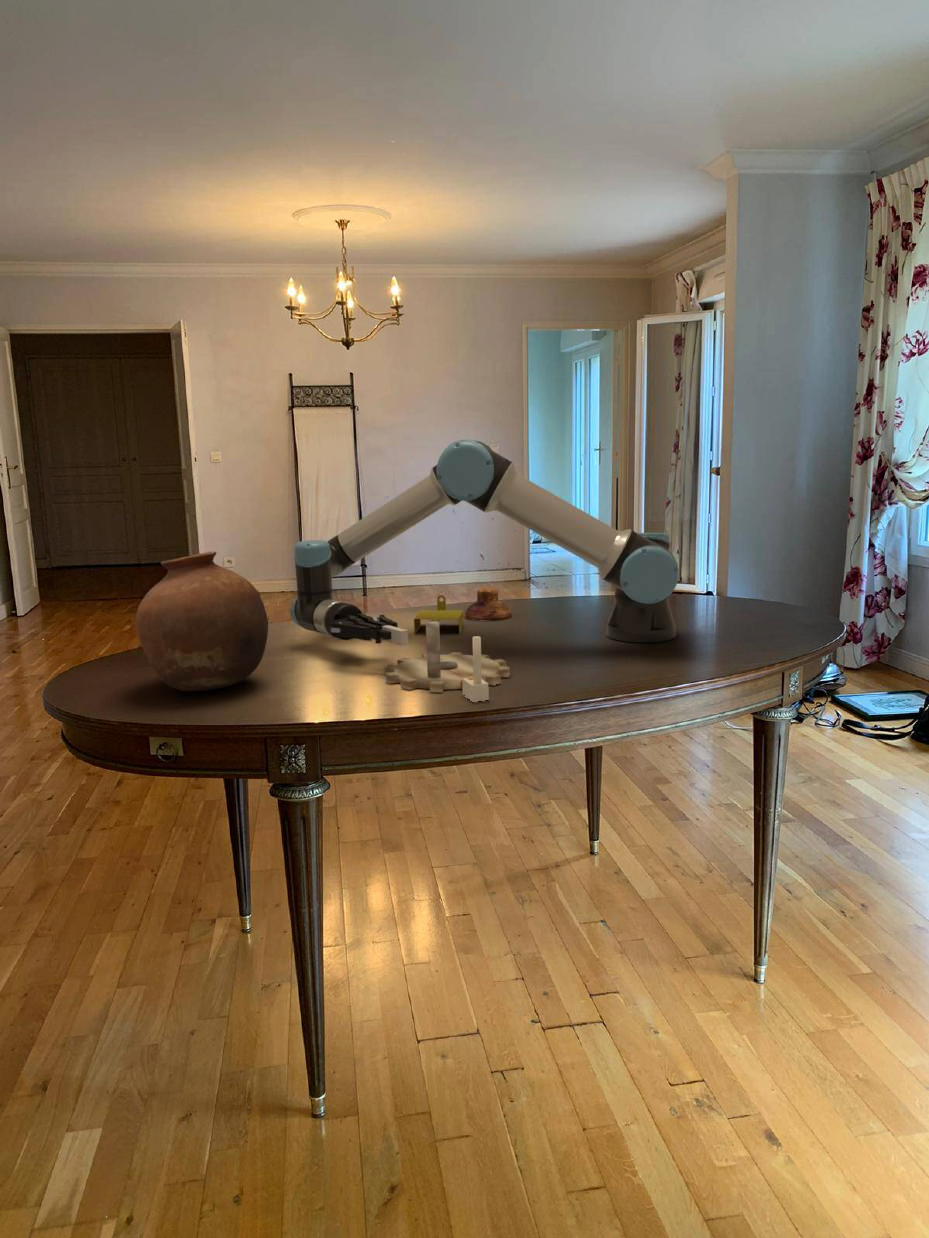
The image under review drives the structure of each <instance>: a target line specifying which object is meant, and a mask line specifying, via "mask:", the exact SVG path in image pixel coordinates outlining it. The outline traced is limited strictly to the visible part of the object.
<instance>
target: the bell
mask: <svg viewBox="0 0 929 1238" xmlns="http://www.w3.org/2000/svg"><path fill="white" fill-rule="evenodd" d="M476 595H477V596H476V598H477V599H476V601H475V602H474V603H472V604H471V605H469V606H468V607H467V608H466V610H465V612H464V615H465V618H466V620H469V619H475V620H499V621H503V620H502V619H505V620H508V619H510V618H511V616H512V612H511V611H512V610H511V609H510V607H509V606H508V605H506V604H505V603H504V602H501V601H500V600H499V592H498V590H497V589H496V588H495V589H485V588H480V589H478V590H477V594H476ZM475 620H474V621H475Z"/></svg>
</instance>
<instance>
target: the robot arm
mask: <svg viewBox="0 0 929 1238" xmlns="http://www.w3.org/2000/svg"><path fill="white" fill-rule="evenodd" d="M461 502H466V503H467V504H469V505H471V506H473V507H475V508H476V509H479V510H480V511H482V512H484V513H490V512H498V513H500V514H501V515H504V516H506V517H507V518H509V519H511V520H513V521H515V522H516V523H518V524H519V525H521V526H523V527H525V528H526V529H528V530H530V531H532V532H534V533H535V534H538V535H539V536H541V537H543V538H544V539H545V540H548V541H550V542H551V543H553V544H555V545H556V546H559V547H560V548H562V549H563V550H565V551H567V552H569V553H571V554H573V555H574V556H576V557H577V558H579V559H581V560H583V561H585V562H587V563H588V564H590V565H592V566H593V567H595V568H597V570H598V573H599V576H600V577H599V578H600V579H601V580H603V581H606V582H607V583H609V584H610V585H611V586H614V602H613V605H612V608H611V611H610V615H609V617H608V619H607V620H608V621H607V623H606V636H607V638H609V639H612V640H616V641H620V642H621V641H622V642H628V643H660V642H666V641H670V640H673V639H674V638H675V637H676V631H677V630H676V623H675V620H674V617H673V613H672V611H671V607H670V604H669V597H670V595H672V593H673V592H674V590H675V589H676V587H677V585H678V582H679V577H680V576H679V575H680V574H679V573H680V569H679V564H678V561H677V558H676V557H675V556H674V555H673V553H672V552H671V551H670V547H671V542H670V536H669V534H668V533H667V532H636V531H635V530H632V529H631V528H628V529H624V530H617V529H615V528H614V527H612V526H611V525H608V524H607V523H605V522H603V521H601V520H600V519H598V518H596V517H595V516H593V515H591V514H589V513H587V512H586V511H583V510H582V509H580V508H578V507H577V506H575V505H573V504H571V503H569V502H568V501H566V500H564V499H563V498H561V497H559V496H557V495H556V494H554V493H553V492H550V491H549V490H547V489H546V488H543V487H541V486H539V485H538V484H536V483H534V482H533V481H531V480H529V479H528V478H526V477H524V476H522V475H521V474H518V472H517V470H516V465H515V463H514V462H513V461H511V460H509V459H507V458H506V457H504V456H502V455H501V454H499V453H497V452H496V451H494V450H493V449H492V448H491V447H490V446H489V445H487V444H485V443H484V442H482V441H478V440H473V439H460V440H456V441H454V442H452V443H450V444H449V445H448V446H447V447H446V448H444V450H443V451H442V453H441V454H440V456H439V458H438V461H437V464H436V465H435V466H433V467H432V468H431V469H430V474H429V475H428V476H426V477H424V478H422V479H421V480H419V481H418V482H417V483H415V484H413V485H412V486H410V487H409V488H408V489H406V490H405V491H403V492H401V493H400V494H398V495H396V496H395V497H394V498H392V499H391V500H389V501H387V502H386V503H384V504H383V505H381V506H380V507H378V508H377V509H375V510H374V511H372V512H371V513H369V514H367V515H366V516H364V517H362V518H361V519H360V520H358V521H357V522H355V523H354V524H352V525H351V526H349V527H347V528H346V529H345V530H343V531H341V532H340V533H338V534H337V535H335V536H333V537H332V538H330V539H329V540H321V539H319V540H318V539H314V540H312V539H311V540H303V541H298V542H297V543H296V544H295V546H294V557H293V561H294V564H295V566H294V567H295V579H296V581H295V582H296V593H297V594H296V597H295V598H294V599H293V600H292V603H291V606H290V608H289V615H290V617H291V620H292V621H293V622H294V623H295V624H296V625H297V626H299V627H301V628H302V629H304V630H306V631H311V632H315V633H320V634H322V635H327V636H329V637H330V638H331V639H339V640H342V641H350V640H353V639H355V640H360V641H361V640H362V641H366V642H370V641H372V640H375V641H374V642H375V644H379V645H380V644H381V643H382V641H385V642H389V643H392V644H395V645H398V646H405V645H409V632H408V631H409V630H408V629H405V628H402V627H399V626H398V622H396V621H394V620H392V619H390V618H388V617H386V615H385V614H379V615H378V616H376V618H374V617H372V616H370V615H366V614H365V613H363V612H362V610H361V609H360V608H359V607H358V606H356V605H355V604H351V603H348V602H343V601H340V600H336V599H333V579H332V578H334V577H335V576H337V575H340V574H342V573H343V572H344V571H345V570H347V569H348V568H349V567H350V568H351V566H353V565H354V564H356V563H357V562H358V561H361V560H362V559H364V558H366V556H367V557H368V555H370V554H371V553H373V552H375V551H376V550H378V549H379V548H381V547H382V546H384V545H385V544H387V543H389V542H390V541H392V540H393V539H395V538H397V537H398V536H400V535H401V534H404V533H405V532H406V531H408V530H409V529H411V528H412V527H415V526H416V525H417V524H419V523H420V522H422V521H424V520H425V519H427V518H429V517H430V516H431V515H433V514H435V513H436V512H438V511H439V510H441V509H443V508H444V507H446V506H447V505H452V506H456V505H457V504H459V503H461Z"/></svg>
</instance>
